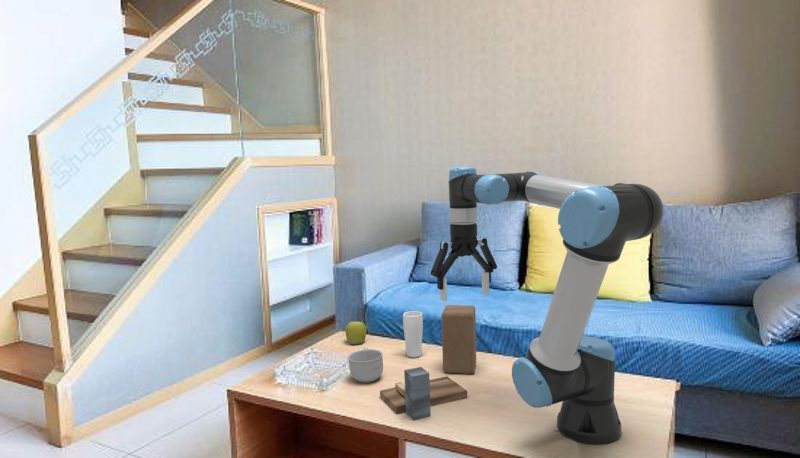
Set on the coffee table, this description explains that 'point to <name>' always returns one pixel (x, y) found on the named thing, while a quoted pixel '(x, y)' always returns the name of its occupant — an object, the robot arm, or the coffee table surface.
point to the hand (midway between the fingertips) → (464, 297)
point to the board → (439, 394)
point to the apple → (356, 332)
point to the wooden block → (459, 339)
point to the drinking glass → (413, 333)
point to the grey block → (416, 392)
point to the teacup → (366, 365)
